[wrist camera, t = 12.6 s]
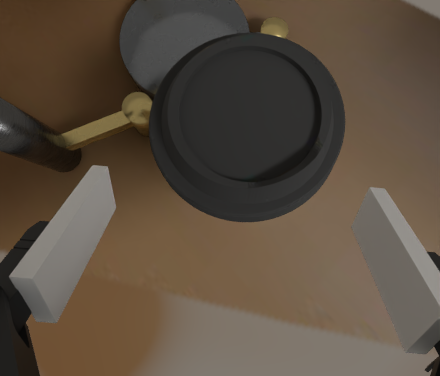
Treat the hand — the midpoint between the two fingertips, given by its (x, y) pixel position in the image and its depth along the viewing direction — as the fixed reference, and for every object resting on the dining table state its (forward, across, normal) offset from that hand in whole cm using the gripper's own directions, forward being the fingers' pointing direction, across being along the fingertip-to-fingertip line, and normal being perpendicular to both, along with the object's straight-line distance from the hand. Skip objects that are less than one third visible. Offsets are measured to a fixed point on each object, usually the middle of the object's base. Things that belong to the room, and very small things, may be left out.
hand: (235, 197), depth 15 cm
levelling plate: (+18, +5, -3) cm, 19 cm away
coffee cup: (+10, 0, +6) cm, 12 cm away
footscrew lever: (+11, +12, +4) cm, 17 cm away
